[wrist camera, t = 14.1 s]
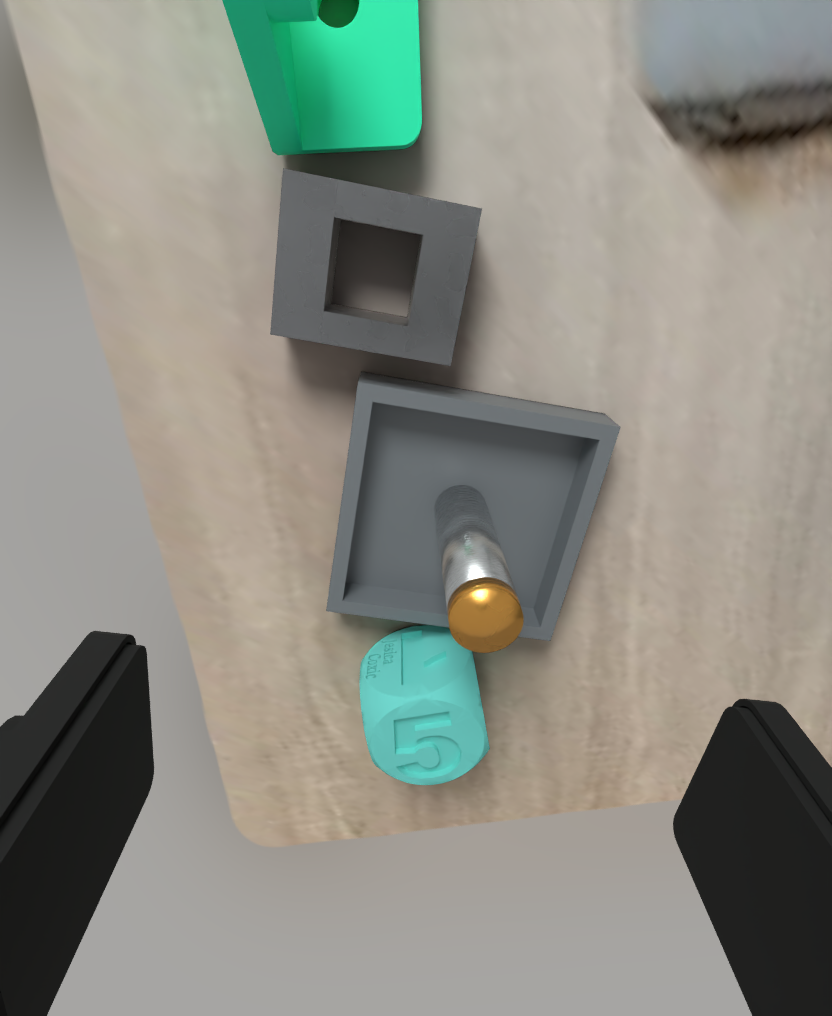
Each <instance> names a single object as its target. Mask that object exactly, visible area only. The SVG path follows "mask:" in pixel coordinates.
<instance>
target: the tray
mask: <svg viewBox="0 0 832 1016" xmlns="http://www.w3.org/2000/svg"><path fill="white" fill-rule="evenodd" d="M619 430H620V426H619V425H618V424H616V423H615V422H614V421H613V420H612V419H611V418H609V417H608V416H607V415H606V414H603V413H598V412H592V411H586V410H580V409H574V408H569V407H563V406H557V405H551V404H546V403H540V402H534V401H528V400H522V399H517V398H511V397H505V396H499V395H493V394H488V393H482V392H476V391H470V390H464V389H459V388H453V387H447V386H441V385H436V384H430V383H424V382H418V381H412V380H407V379H401V378H395V377H389V376H383V375H378V374H372V373H366V372H361V373H360V377H359V380H358V386H357V393H356V400H355V407H354V414H353V422H352V429H351V436H350V443H349V450H348V458H347V465H346V472H345V479H344V486H343V494H342V501H341V508H340V515H339V523H338V530H337V537H336V544H335V551H334V559H333V566H332V573H331V580H330V587H329V595H328V602H327V609H326V611H330V612H337V613H345V614H352V615H360V616H367V617H375V618H382V619H389V620H397V621H404V622H412V623H419V624H427V625H434V626H442V627H449V621H448V614H447V606H446V598H445V591H444V583H443V575H442V568H441V560H440V552H439V545H438V537H437V529H436V522H435V514H434V506H435V502H436V500H437V498H438V497H439V495H440V494H441V493H442V492H443V491H444V490H446V489H448V488H450V487H452V486H456V485H467V486H471V487H473V488H475V489H477V490H478V491H479V492H480V493H481V494H482V495H483V497H484V498H485V501H486V504H487V507H488V510H489V513H490V516H491V519H492V522H493V525H494V528H495V531H496V534H497V537H498V540H499V543H500V546H501V549H502V552H503V555H504V558H505V561H506V564H507V567H508V570H509V573H510V576H511V579H512V582H513V585H514V588H515V591H516V594H517V597H518V600H519V603H520V606H521V609H522V612H523V617H524V622H523V627H522V630H521V632H520V634H519V635H518V637H524V638H532V639H539V640H547V641H550V640H551V637H552V634H553V631H554V628H555V625H556V622H557V619H558V616H559V613H560V610H561V607H562V604H563V601H564V598H565V595H566V592H567V589H568V585H569V582H570V579H571V576H572V573H573V570H574V567H575V564H576V561H577V558H578V555H579V552H580V549H581V546H582V543H583V540H584V537H585V534H586V531H587V528H588V525H589V522H590V518H591V515H592V512H593V509H594V506H595V503H596V500H597V497H598V494H599V491H600V488H601V485H602V482H603V479H604V476H605V473H606V470H607V467H608V464H609V461H610V458H611V455H612V451H613V448H614V445H615V442H616V439H617V436H618V433H619Z"/></svg>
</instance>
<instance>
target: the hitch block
mask: <svg viewBox="0 0 832 1016" xmlns="http://www.w3.org/2000/svg"><path fill="white" fill-rule="evenodd" d="M481 211H482V209H481V208H476V207H471V206H466V205H462V204H457V203H452V202H447V201H442V200H437V199H432V198H427V197H422V196H417V195H412V194H407V193H402V192H397V191H392V190H387V189H383V188H378V187H373V186H368V185H363V184H358V183H353V182H348V181H343V180H338V179H333V178H328V177H323V176H318V175H313V174H309V173H304V172H299V171H294V170H289V169H284V168H283V176H282V189H281V202H280V215H279V228H278V241H277V254H276V268H275V281H274V294H273V307H272V320H271V333H270V334H271V335H277V336H283V337H288V338H294V339H300V340H305V341H311V342H317V343H322V344H328V345H334V346H339V347H345V348H351V349H356V350H362V351H368V352H373V353H379V354H385V355H391V356H396V357H402V358H408V359H413V360H419V361H425V362H430V363H436V364H442V365H447V366H451V361H452V356H453V351H454V346H455V341H456V336H457V331H458V326H459V321H460V316H461V311H462V306H463V301H464V296H465V291H466V286H467V281H468V276H469V271H470V266H471V261H472V256H473V251H474V246H475V241H476V236H477V231H478V226H479V221H480V216H481ZM341 220H346V221H351V222H356V223H362V224H367V225H372V226H377V227H382V228H387V229H392V230H397V231H402V232H407V233H412V234H418V235H421V237H420V243H419V250H418V256H417V262H416V268H415V274H414V280H413V286H412V292H411V298H410V304H409V310H408V316H407V317H402V316H396V315H391V314H385V313H380V312H374V311H369V310H363V309H358V308H352V307H347V306H341V305H336V304H331V302H332V294H333V285H334V276H335V268H336V259H337V250H338V241H339V233H340V224H341Z"/></svg>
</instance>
